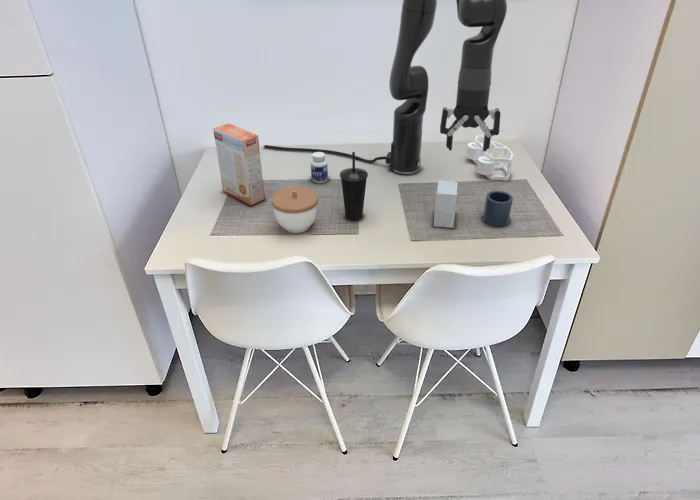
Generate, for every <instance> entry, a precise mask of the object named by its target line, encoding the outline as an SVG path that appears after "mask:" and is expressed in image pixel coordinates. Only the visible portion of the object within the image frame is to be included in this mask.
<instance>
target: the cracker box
mask: <svg viewBox="0 0 700 500" xmlns="http://www.w3.org/2000/svg"><path fill="white" fill-rule="evenodd" d="M212 130H213V137H214V142H215V149H216V155H217V161H218V162H217V163H218V167H219V173H220V180H221V187H222V192H223V193H226V194H227V195H229V196H231V197H233V198H235V199H237V200H239V201H240V202H243V203H244V204H246V205H249V206H253V205H256V204H258V203H261V202H262V201H265V200H266V195H265V187H264V178H263V167H262V161H261V150H260V141H259V135H258V134H256V133H254V132H251V131H249V130H247V129H244V128H241V127H238V126H236V125H234V124H231V123H228V122H227V123H225V124H222V125H219V126H217V127H216V126H215V127H214V128H212Z"/></svg>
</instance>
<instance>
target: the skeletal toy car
mask: <svg viewBox="0 0 700 500" xmlns="http://www.w3.org/2000/svg"><path fill="white" fill-rule="evenodd" d="M481 140H482V141H484V135H482V134H479V135H476V136H475V137H474V141H471V142H468V143H467V147H466V153H465V154H466V155H465V156H466V158H467V159H469V160H472V162H473V163H474V164H475V165H476V169H475V171H476V173H477V174H479V175H482V176H485V178H487V179H489V180H491V181H494V180H496V181H497V180H498V181H503V182H507V181H509V180H510V176H511V170H512V164H513V159H514V153H513V151H511V149H510V148H509V147H508V146H506V145H504V144H503V143H500V142H498V141H495V140H492V139H490V147H489V149H488V152H487V150H486V151H483V142H481ZM492 149H493V150H494V151H495V152H494V156H492V151H493V150H492ZM499 152H503V157H498V155H499ZM507 154H508V155H509V158H507ZM505 164H507V166H506V165H505ZM501 169H502V170H503V171H504V172H505V173H506V174H505V176H503V175H494V173H495V171H496V170H501Z"/></svg>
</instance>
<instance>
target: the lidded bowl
mask: <svg viewBox="0 0 700 500" xmlns="http://www.w3.org/2000/svg"><path fill="white" fill-rule="evenodd" d="M270 200H271V205H272V212H273V215H274V218H275V220H276V222H277V223H278V225H279V226H280V227H281V228H282V229H284V230H285V231H286V232H289V233H291V234H300V233H304V232H306V231H308V230H309V229H310V227H311V226H312V225H313V224H314V223H315V222H316V219H317V217H318V213H319V212H318V211H319V195H318V193H317V192H316V191H314V190H313V189H311V188H309V187H304V186H290V187H285V188H281V189H279V190H278V191H276V192H275V193H274V194H273V195H272V196H271V199H270Z"/></svg>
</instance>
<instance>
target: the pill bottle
mask: <svg viewBox="0 0 700 500" xmlns="http://www.w3.org/2000/svg"><path fill="white" fill-rule="evenodd" d="M328 169H329V168H328V160H327V159H326V153H323V152H313V153H312V159H311V161H310V175H311V176H310V177H311V179H310V180H311V182H314V183H315V184H324V183H326V182H328V179H329V171H328Z"/></svg>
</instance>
